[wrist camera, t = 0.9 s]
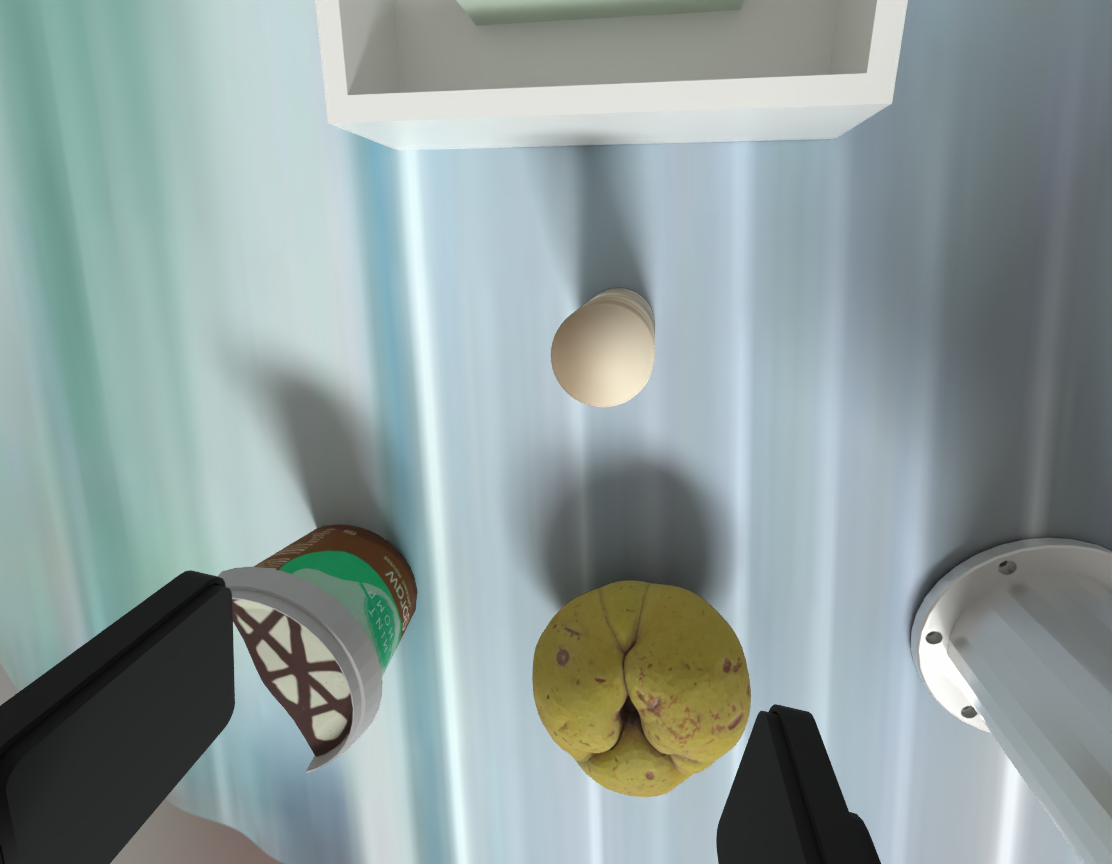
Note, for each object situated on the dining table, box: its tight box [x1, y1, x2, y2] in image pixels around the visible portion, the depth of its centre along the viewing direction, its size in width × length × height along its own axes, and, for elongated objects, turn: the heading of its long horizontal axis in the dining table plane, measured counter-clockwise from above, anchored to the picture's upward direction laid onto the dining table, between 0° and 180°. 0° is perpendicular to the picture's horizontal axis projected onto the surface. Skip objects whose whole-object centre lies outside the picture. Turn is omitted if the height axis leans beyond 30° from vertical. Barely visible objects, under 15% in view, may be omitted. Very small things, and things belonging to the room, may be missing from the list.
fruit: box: [533, 580, 751, 797], centre depth 32 cm, size 11×12×10 cm
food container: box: [218, 525, 417, 773], centre depth 34 cm, size 12×6×10 cm, turn 23°
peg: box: [551, 288, 655, 407], centre depth 27 cm, size 4×4×10 cm
